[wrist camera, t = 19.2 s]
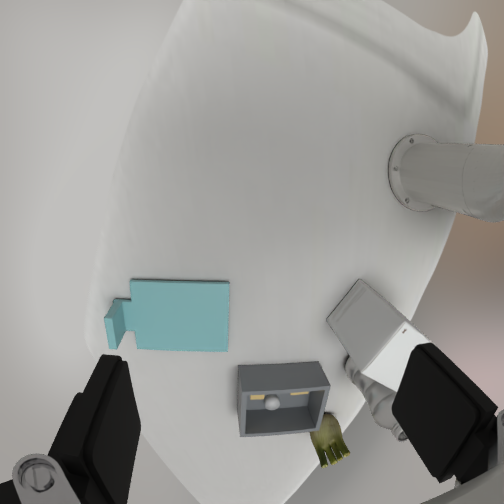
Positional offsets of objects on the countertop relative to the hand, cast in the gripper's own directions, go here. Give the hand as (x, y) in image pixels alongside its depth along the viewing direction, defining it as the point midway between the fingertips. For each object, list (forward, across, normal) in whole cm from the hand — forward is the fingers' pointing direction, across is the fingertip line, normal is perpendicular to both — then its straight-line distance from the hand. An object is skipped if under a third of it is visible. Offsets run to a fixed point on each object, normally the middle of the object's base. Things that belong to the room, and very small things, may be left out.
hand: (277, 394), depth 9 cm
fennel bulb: (+37, -19, +41) cm, 58 cm away
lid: (+37, +9, +16) cm, 41 cm away
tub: (+36, -9, +31) cm, 49 cm away
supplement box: (+36, -22, +16) cm, 46 cm away
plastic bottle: (+36, -24, +26) cm, 51 cm away
